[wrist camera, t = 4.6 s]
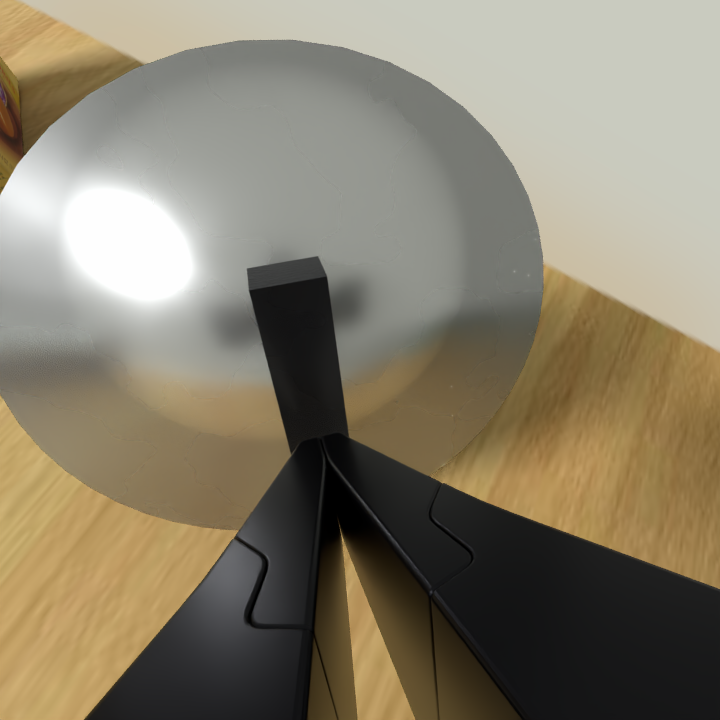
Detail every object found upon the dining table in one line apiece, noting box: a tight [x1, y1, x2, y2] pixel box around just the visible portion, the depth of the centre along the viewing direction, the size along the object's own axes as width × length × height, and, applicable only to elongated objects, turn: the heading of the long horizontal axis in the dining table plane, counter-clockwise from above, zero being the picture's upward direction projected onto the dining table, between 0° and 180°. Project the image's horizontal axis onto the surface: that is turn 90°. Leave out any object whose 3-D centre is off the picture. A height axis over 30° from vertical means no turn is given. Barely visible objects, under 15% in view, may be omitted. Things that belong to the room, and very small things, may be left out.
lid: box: [0, 40, 543, 530], centre depth 10 cm, size 12×12×2 cm
